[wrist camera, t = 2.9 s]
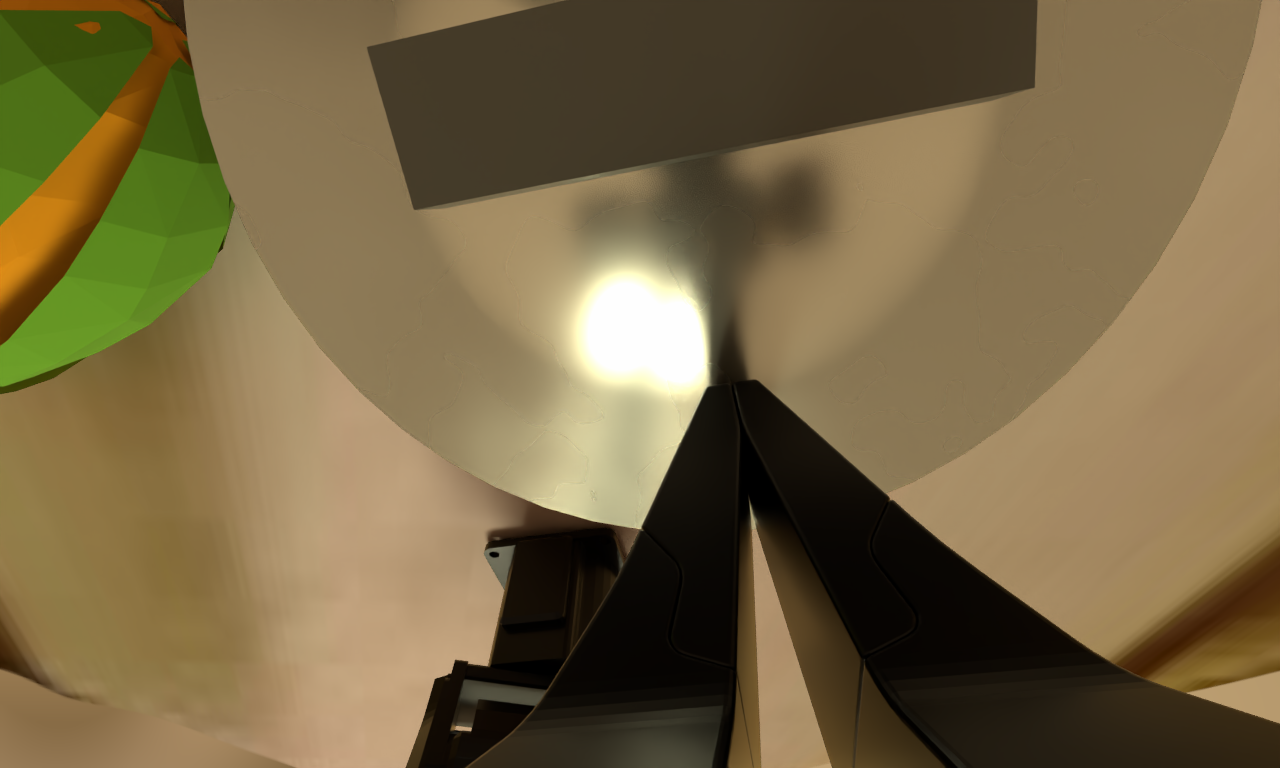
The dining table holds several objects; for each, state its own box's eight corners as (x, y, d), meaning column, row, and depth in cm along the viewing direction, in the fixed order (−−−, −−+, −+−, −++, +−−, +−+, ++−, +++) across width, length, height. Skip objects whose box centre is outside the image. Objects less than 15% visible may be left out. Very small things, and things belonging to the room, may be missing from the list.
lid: (1150, 450, 10) (1301, 531, 8) (398, 544, 12) (325, 635, 9) (1294, -906, 6) (1771, -1759, 3) (43, -443, 7) (-277, -764, 5)
